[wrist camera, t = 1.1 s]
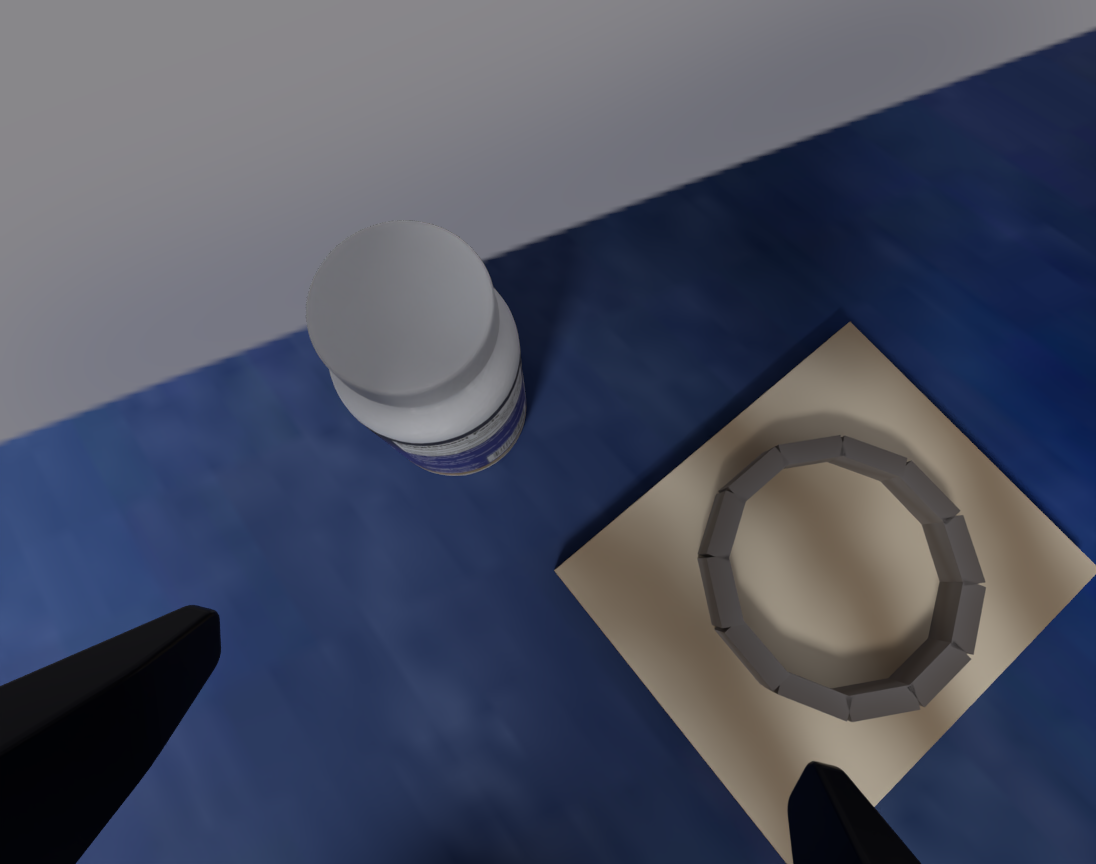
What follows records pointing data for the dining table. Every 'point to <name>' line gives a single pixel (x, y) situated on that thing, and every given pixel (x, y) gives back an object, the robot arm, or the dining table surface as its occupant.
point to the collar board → (825, 582)
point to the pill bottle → (420, 345)
